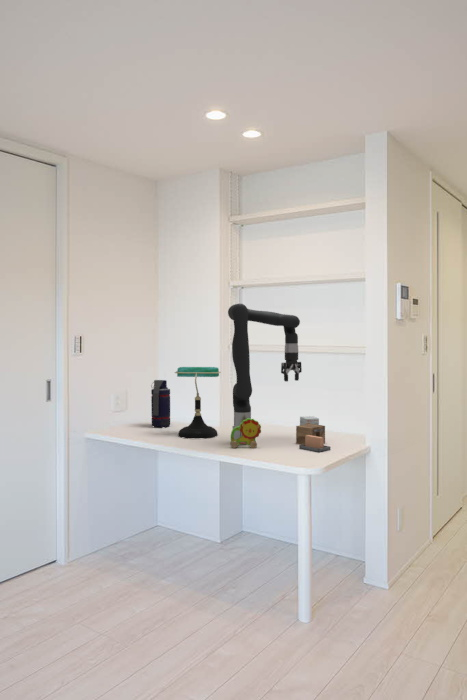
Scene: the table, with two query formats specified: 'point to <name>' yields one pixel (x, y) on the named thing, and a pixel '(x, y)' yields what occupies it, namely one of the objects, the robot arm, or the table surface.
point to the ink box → (309, 420)
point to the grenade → (160, 403)
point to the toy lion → (246, 433)
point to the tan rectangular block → (314, 441)
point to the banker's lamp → (197, 404)
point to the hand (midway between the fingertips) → (291, 380)
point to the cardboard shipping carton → (309, 432)
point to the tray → (326, 448)
